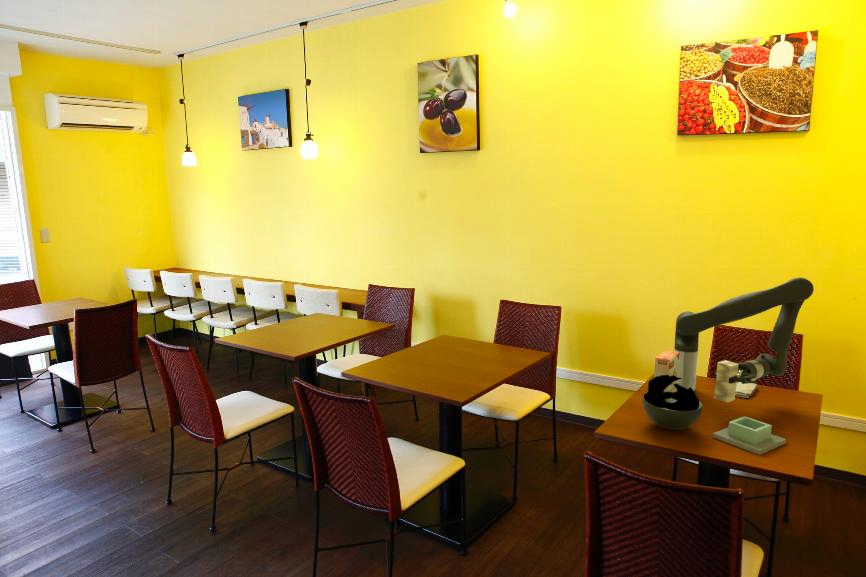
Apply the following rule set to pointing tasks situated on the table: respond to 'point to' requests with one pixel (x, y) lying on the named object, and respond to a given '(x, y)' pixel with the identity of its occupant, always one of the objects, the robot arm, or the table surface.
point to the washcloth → (745, 389)
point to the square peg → (725, 381)
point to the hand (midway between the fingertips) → (722, 378)
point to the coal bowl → (671, 404)
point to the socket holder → (750, 435)
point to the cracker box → (667, 366)
